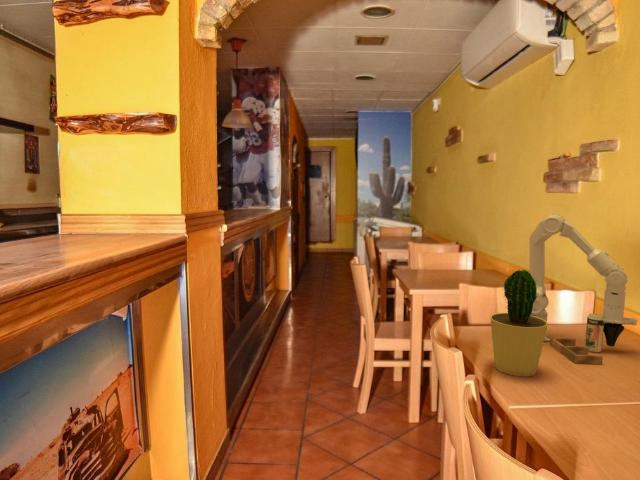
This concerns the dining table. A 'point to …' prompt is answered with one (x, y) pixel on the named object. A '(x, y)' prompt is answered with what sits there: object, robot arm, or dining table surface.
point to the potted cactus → (518, 328)
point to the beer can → (594, 332)
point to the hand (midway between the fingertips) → (610, 345)
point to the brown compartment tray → (574, 351)
